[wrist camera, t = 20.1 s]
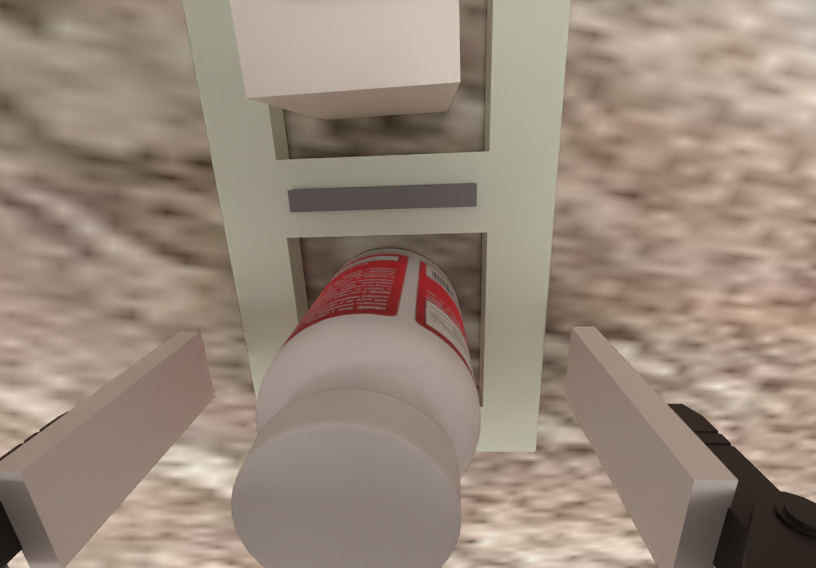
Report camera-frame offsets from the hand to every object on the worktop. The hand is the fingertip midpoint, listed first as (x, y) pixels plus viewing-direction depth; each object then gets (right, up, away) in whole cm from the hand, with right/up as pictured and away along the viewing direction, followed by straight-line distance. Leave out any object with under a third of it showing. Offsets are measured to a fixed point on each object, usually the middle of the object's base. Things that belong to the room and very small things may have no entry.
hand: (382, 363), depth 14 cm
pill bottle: (0, +2, +4) cm, 5 cm away
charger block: (0, +12, +1) cm, 12 cm away
